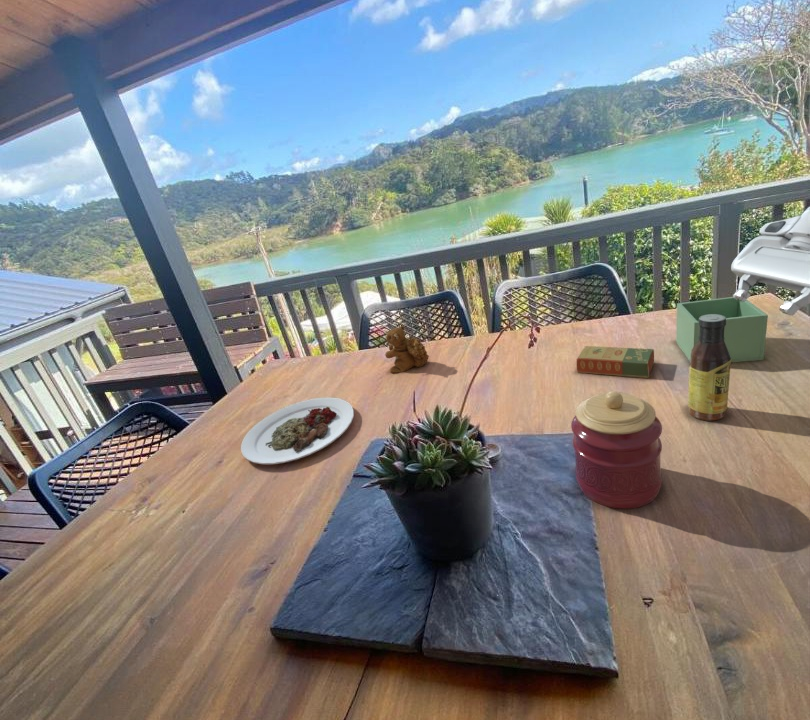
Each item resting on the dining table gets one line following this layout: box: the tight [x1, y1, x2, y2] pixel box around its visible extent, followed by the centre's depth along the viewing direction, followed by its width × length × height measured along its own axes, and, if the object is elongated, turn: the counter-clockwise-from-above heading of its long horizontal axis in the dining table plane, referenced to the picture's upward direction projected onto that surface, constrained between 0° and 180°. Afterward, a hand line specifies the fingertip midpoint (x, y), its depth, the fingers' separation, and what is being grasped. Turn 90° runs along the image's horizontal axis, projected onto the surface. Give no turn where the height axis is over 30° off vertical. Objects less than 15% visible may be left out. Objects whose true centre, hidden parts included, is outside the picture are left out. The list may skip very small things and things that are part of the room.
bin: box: [675, 296, 769, 363], centre depth 103 cm, size 14×14×11 cm
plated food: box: [240, 396, 355, 465], centre depth 114 cm, size 30×30×3 cm
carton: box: [576, 345, 655, 379], centre depth 107 cm, size 8×16×4 cm, turn 55°
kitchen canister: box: [570, 390, 663, 510], centre depth 70 cm, size 13×13×18 cm
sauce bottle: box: [687, 314, 732, 422], centre depth 81 cm, size 7×6×20 cm
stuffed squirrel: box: [384, 325, 430, 374], centre depth 135 cm, size 10×14×13 cm
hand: (760, 305), depth 78 cm, fingers open, 8 cm apart
